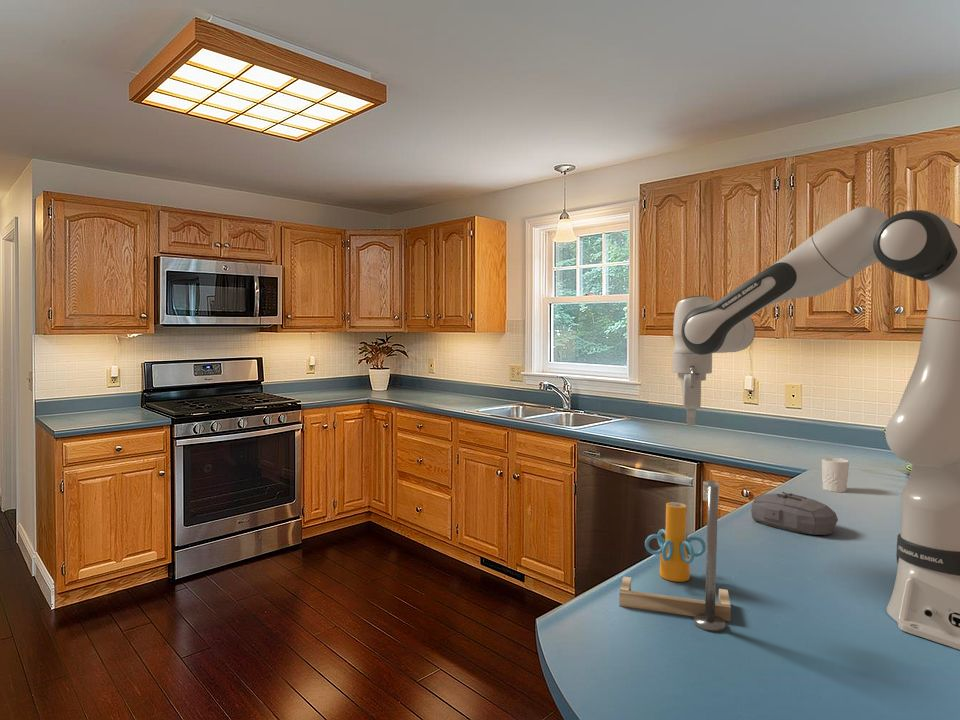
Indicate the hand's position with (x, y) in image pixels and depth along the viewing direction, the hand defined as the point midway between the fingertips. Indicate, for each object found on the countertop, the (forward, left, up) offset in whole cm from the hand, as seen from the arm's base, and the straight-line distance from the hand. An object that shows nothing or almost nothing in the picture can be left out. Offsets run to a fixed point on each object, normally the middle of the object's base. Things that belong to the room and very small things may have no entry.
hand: (690, 424), depth 146 cm
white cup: (+20, -86, -29) cm, 93 cm away
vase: (-13, +17, -29) cm, 36 cm away
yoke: (-23, +27, -29) cm, 46 cm away
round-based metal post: (-30, +25, -29) cm, 49 cm away
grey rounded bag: (-1, -38, -30) cm, 48 cm away
